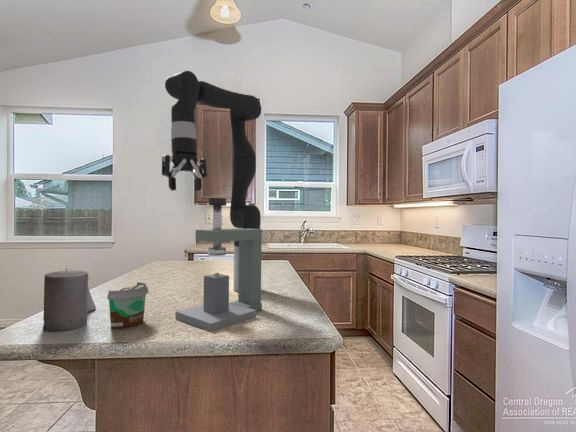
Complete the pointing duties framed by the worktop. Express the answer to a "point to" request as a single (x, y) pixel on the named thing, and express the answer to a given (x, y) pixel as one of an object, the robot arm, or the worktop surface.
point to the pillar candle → (65, 300)
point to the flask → (90, 302)
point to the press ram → (217, 225)
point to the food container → (127, 306)
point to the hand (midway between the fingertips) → (185, 190)
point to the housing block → (216, 293)
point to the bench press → (247, 281)
